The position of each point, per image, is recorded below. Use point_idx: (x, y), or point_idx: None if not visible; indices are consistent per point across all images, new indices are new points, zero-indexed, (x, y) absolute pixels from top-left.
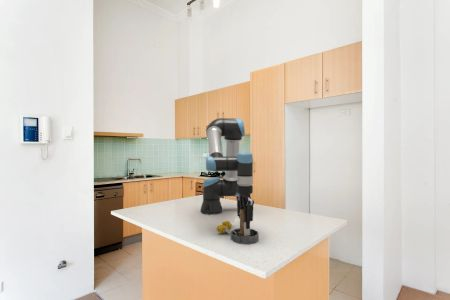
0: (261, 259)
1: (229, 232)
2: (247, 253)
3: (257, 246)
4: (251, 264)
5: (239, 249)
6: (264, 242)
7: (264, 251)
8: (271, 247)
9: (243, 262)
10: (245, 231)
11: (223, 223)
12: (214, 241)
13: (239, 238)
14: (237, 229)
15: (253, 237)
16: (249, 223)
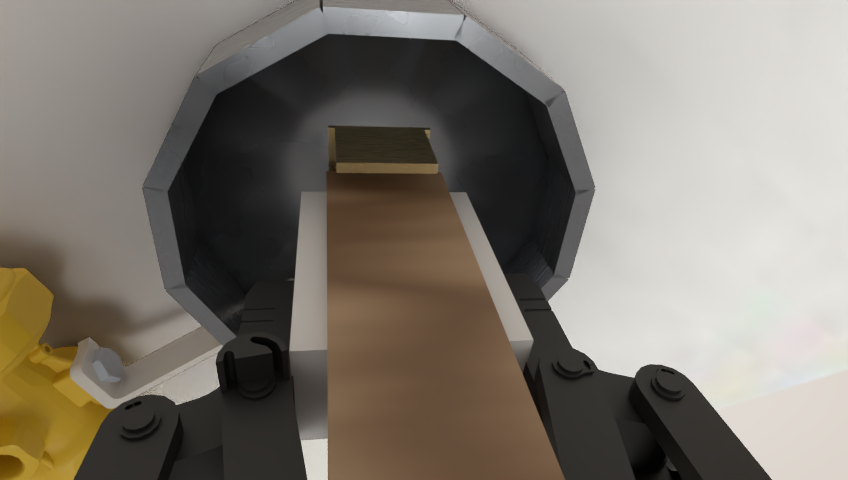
0: (838, 281)
1: (195, 345)
2: (687, 323)
3: (649, 175)
4: (817, 364)
5: (583, 345)
6: (624, 19)
7: (779, 180)
8: (787, 43)
9: (758, 392)
10: None
11: (34, 468)
12: (304, 454)
13: None
14: (181, 264)
15: (584, 205)
16: (564, 345)
